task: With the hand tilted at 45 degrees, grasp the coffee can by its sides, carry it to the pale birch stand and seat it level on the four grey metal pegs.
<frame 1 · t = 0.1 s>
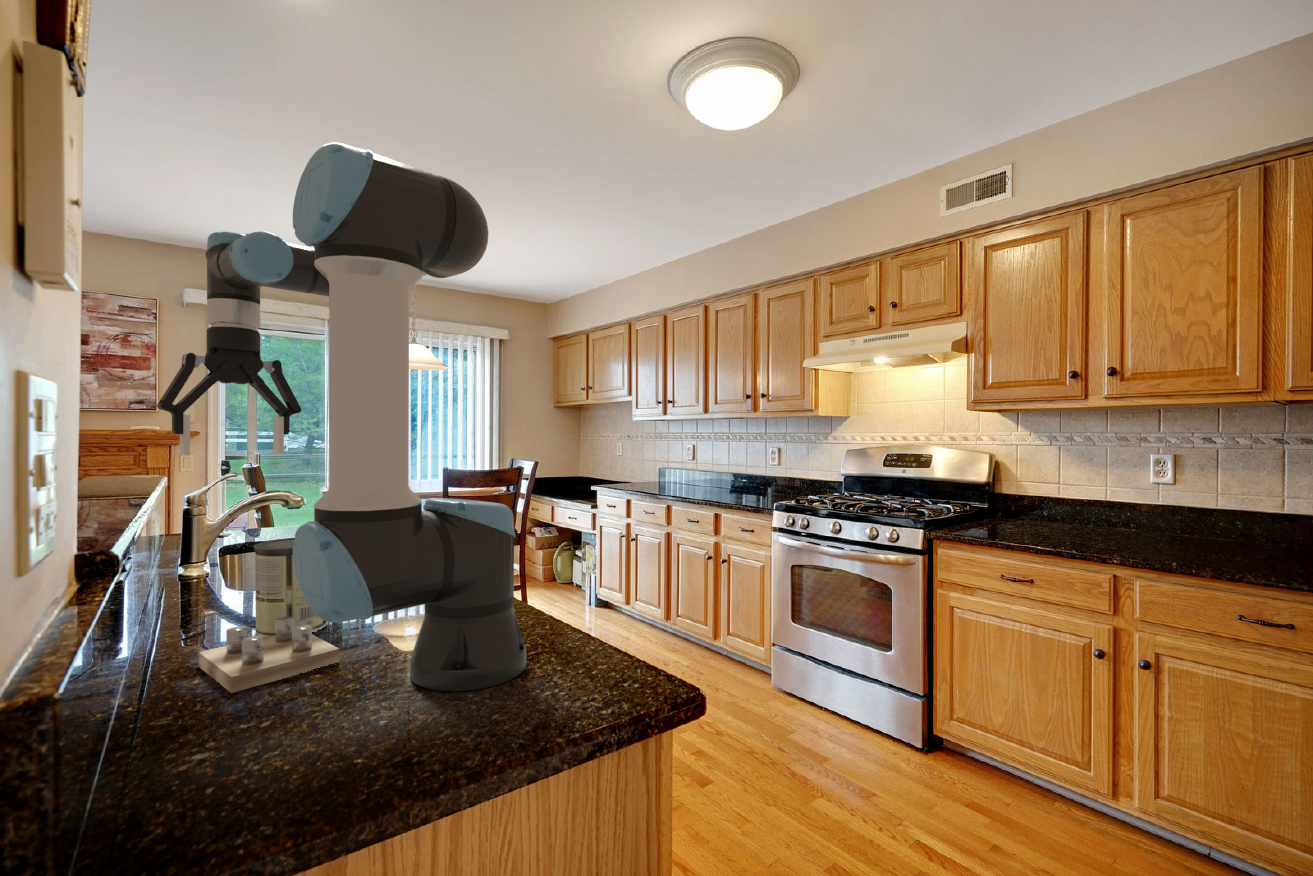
hand: (233, 454, 106), 28 cm above the counter, tool pointing down, fingers open, 13 cm apart
stand plate: (269, 664, 86), on the counter
peg set: (269, 639, 86), on the stand plate, point 4 cm above the counter
coffee can: (292, 630, 101), on the counter
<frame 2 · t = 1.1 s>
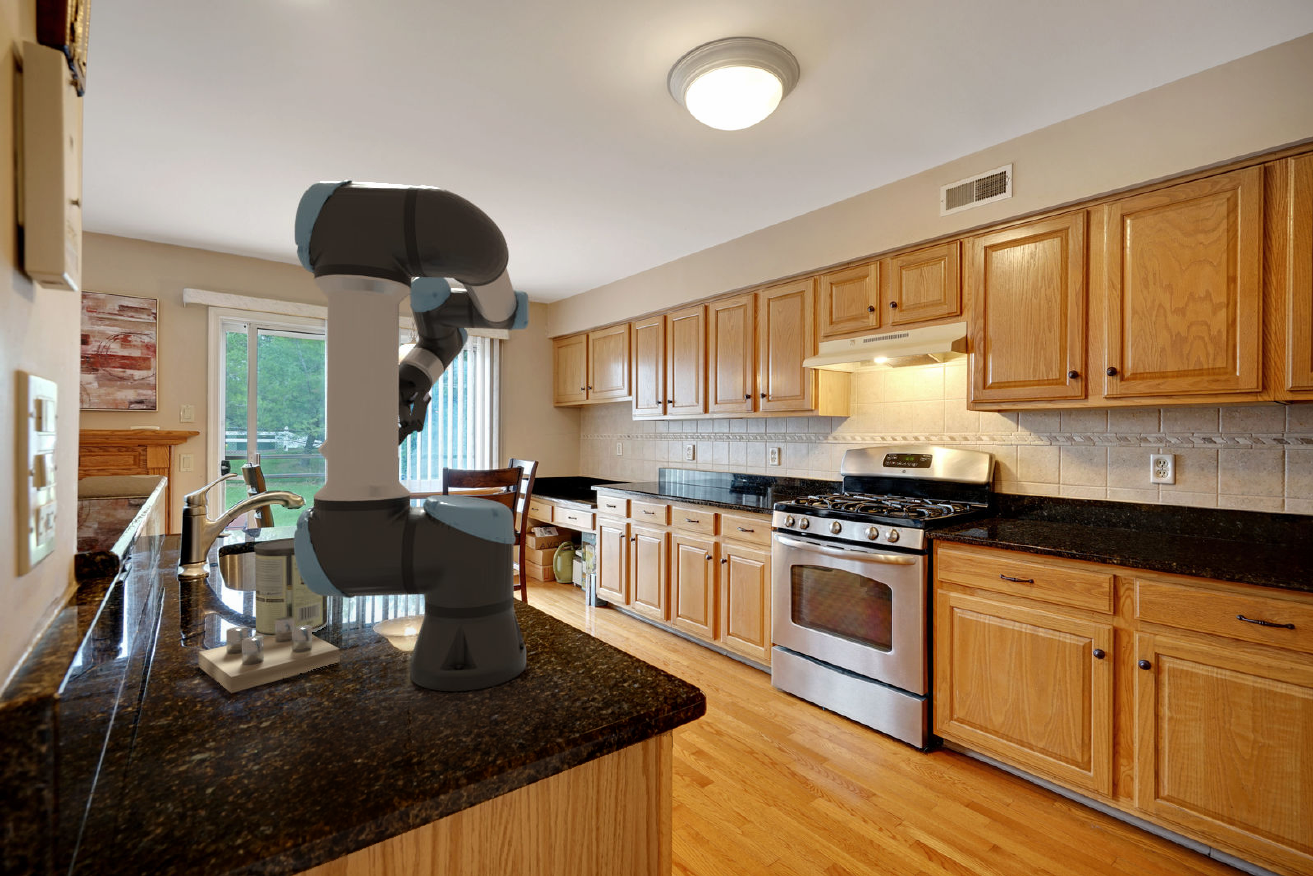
hand: (350, 456, 110), 28 cm above the counter, tool tilted 45°, fingers open, 13 cm apart
nothing on the counter moved.
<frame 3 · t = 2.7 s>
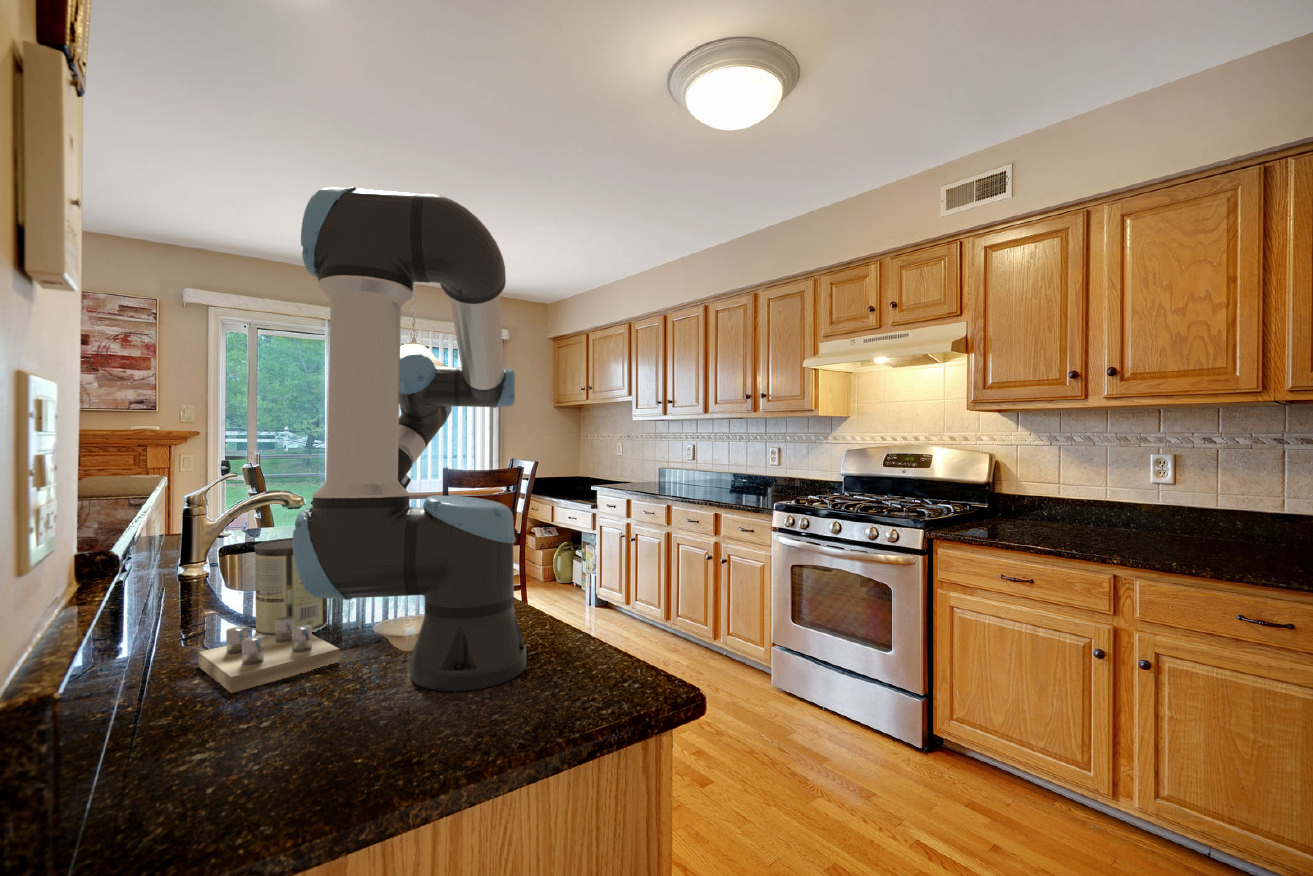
hand: (326, 545, 108), 12 cm above the counter, tool tilted 45°, fingers open, 13 cm apart
nothing on the counter moved.
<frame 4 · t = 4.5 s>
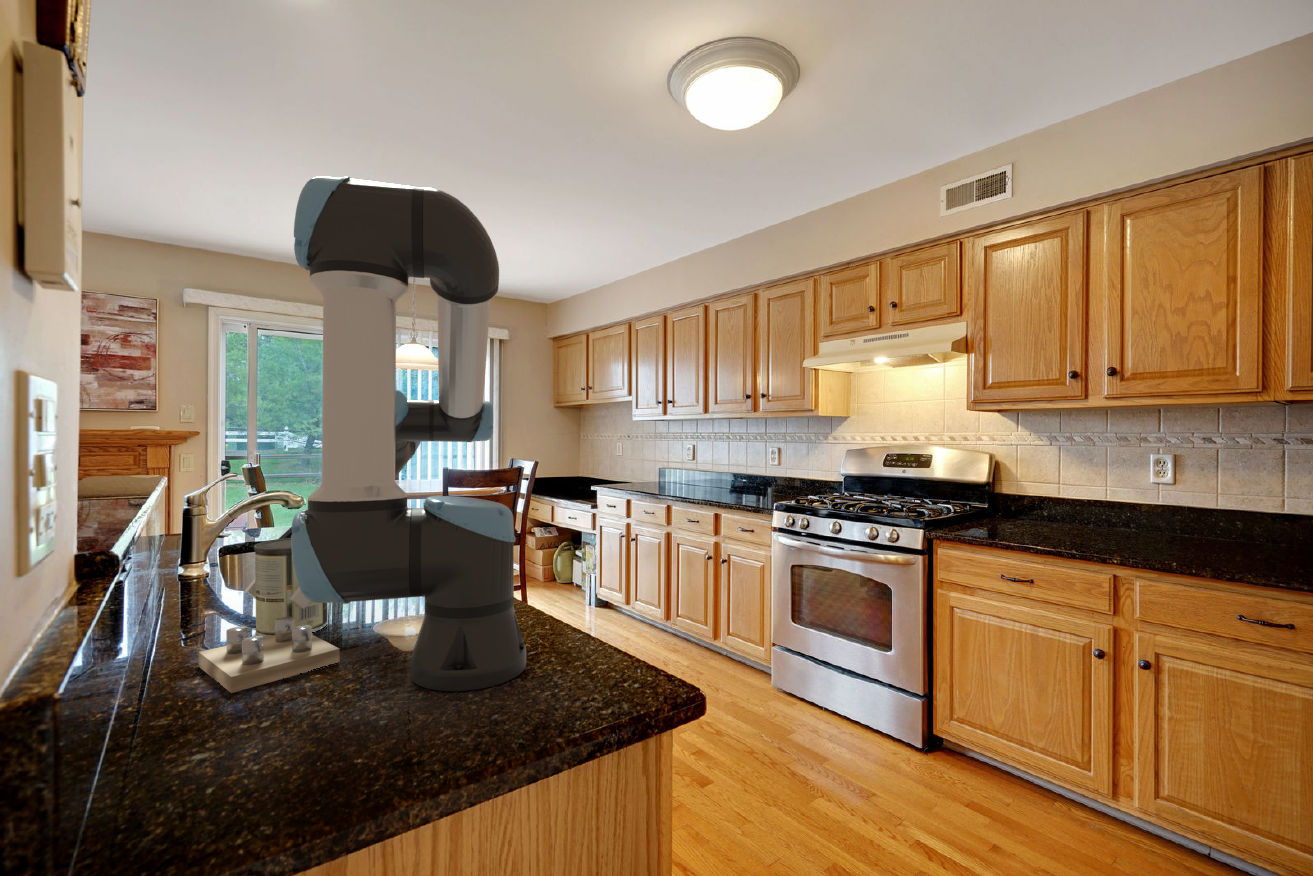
hand: (273, 599, 99), 5 cm above the counter, tool tilted 45°, fingers closed on coffee can, 10 cm apart
coffee can: (292, 630, 101), on the counter, touching gripper
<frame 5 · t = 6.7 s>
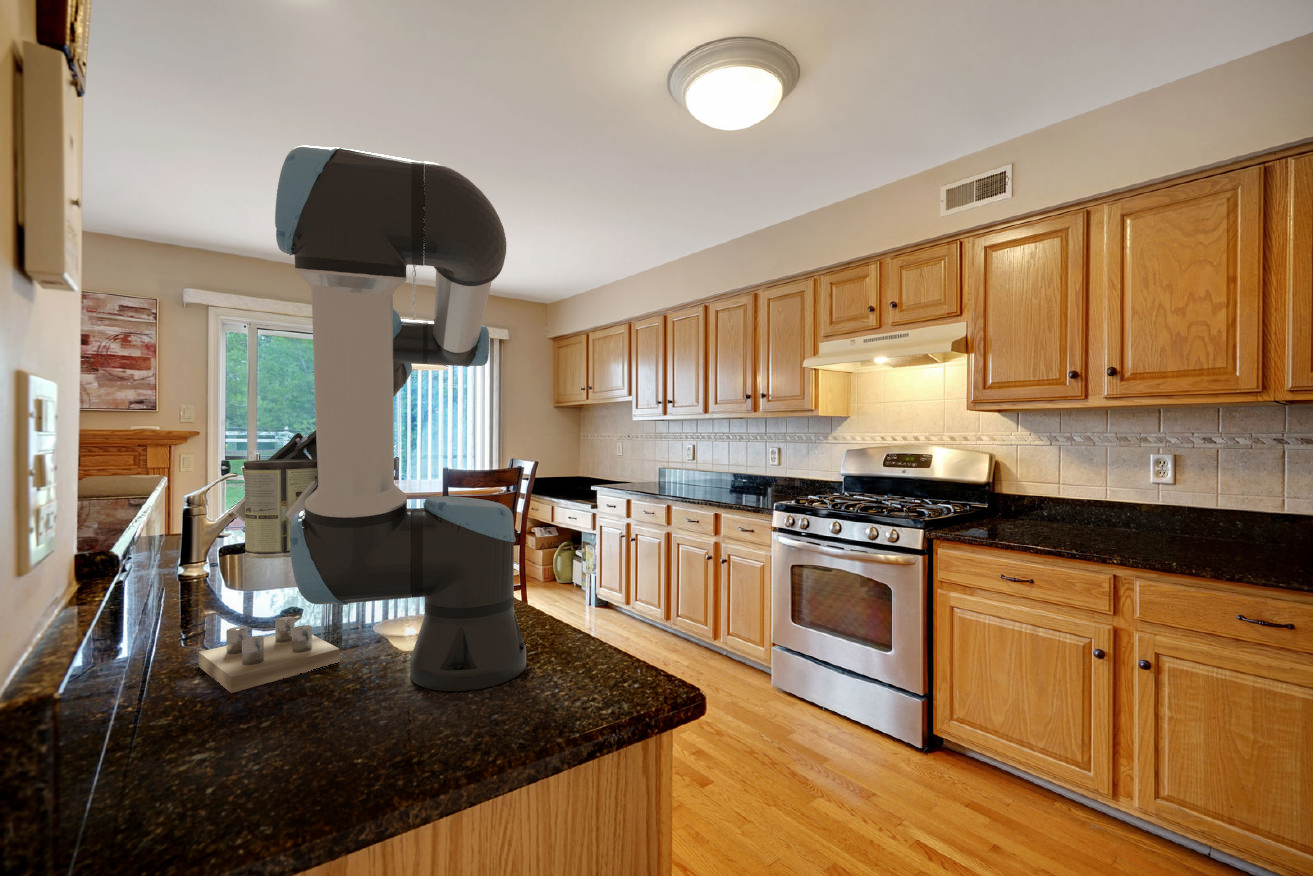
hand: (265, 518, 93), 19 cm above the counter, tool tilted 45°, fingers closed on coffee can, 10 cm apart
coffee can: (283, 553, 96), point 13 cm above the counter, touching gripper
when the fingers open (12 cm above the counter, at t = 9.2 s): coffee can drops 1 cm, resting on peg set.
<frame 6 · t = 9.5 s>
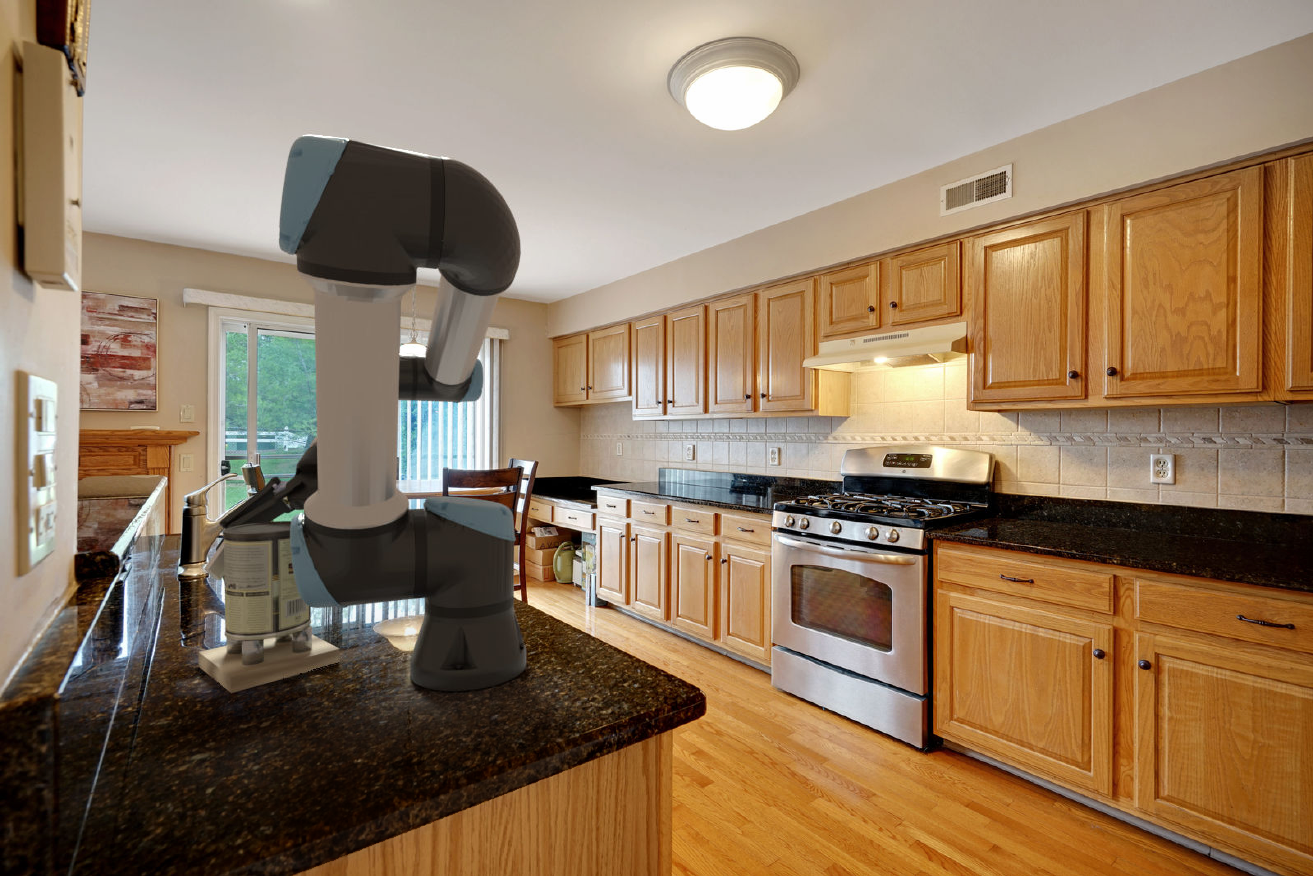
hand: (256, 577, 84), 13 cm above the counter, tool tilted 45°, fingers open, 13 cm apart
coffee can: (268, 630, 86), point 5 cm above the counter, touching peg set
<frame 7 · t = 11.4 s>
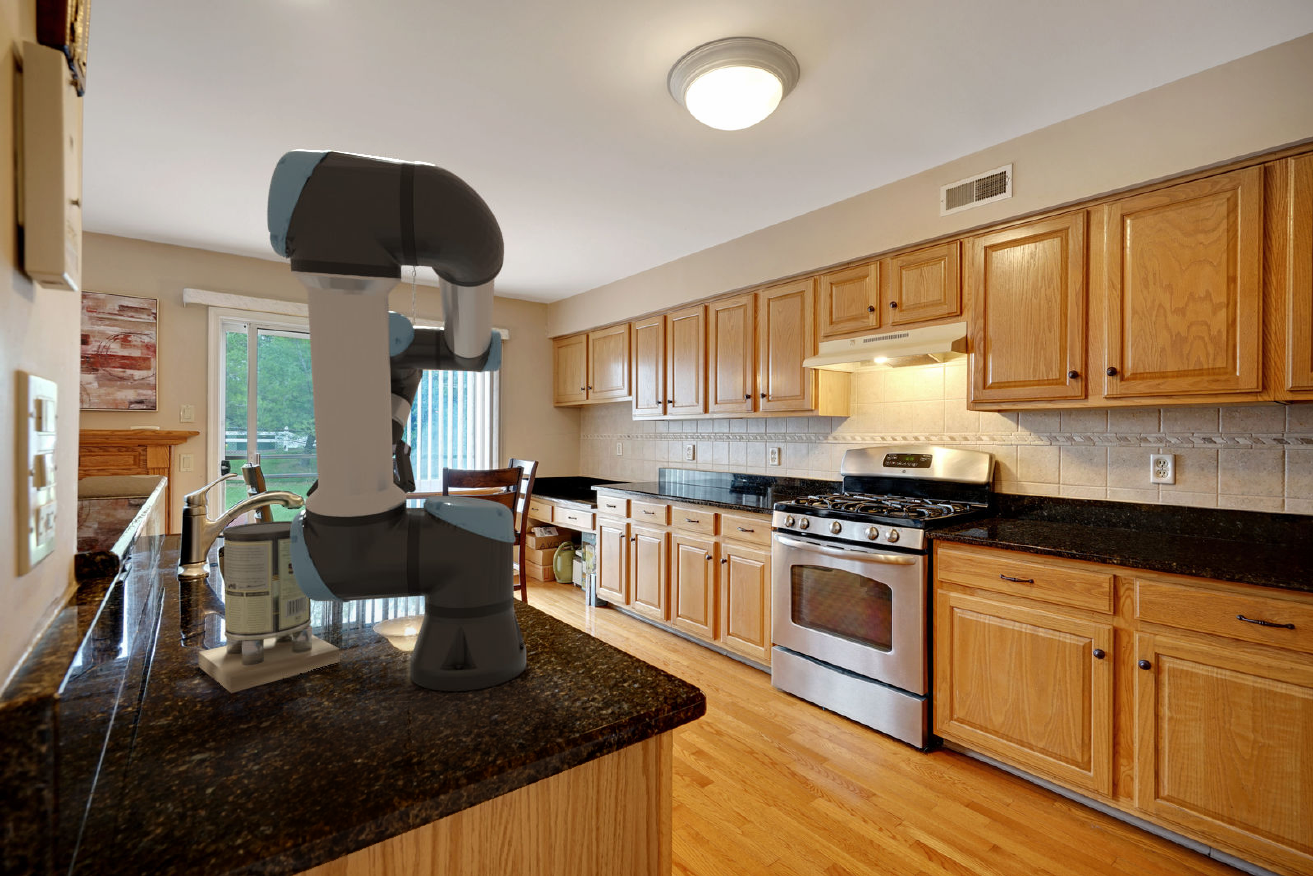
hand: (345, 535, 100), 15 cm above the counter, tool tilted 35°, fingers open, 13 cm apart
nothing on the counter moved.
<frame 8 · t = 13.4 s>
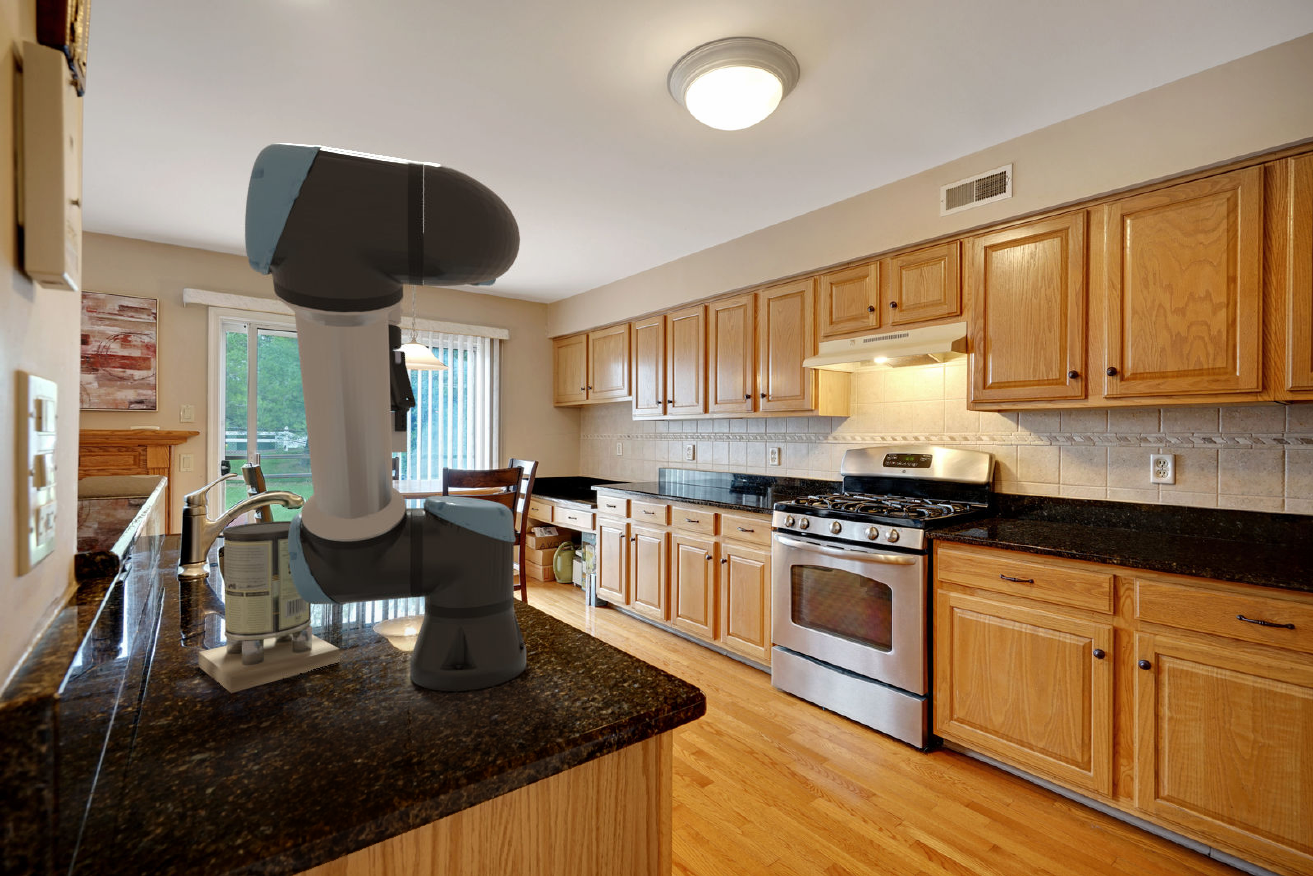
hand: (377, 451, 106), 29 cm above the counter, tool pointing down, fingers open, 13 cm apart
nothing on the counter moved.
at the end: coffee can 0.2 cm from the peg set (horizontally); coffee can tilted 0°; coffee can touching peg set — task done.
